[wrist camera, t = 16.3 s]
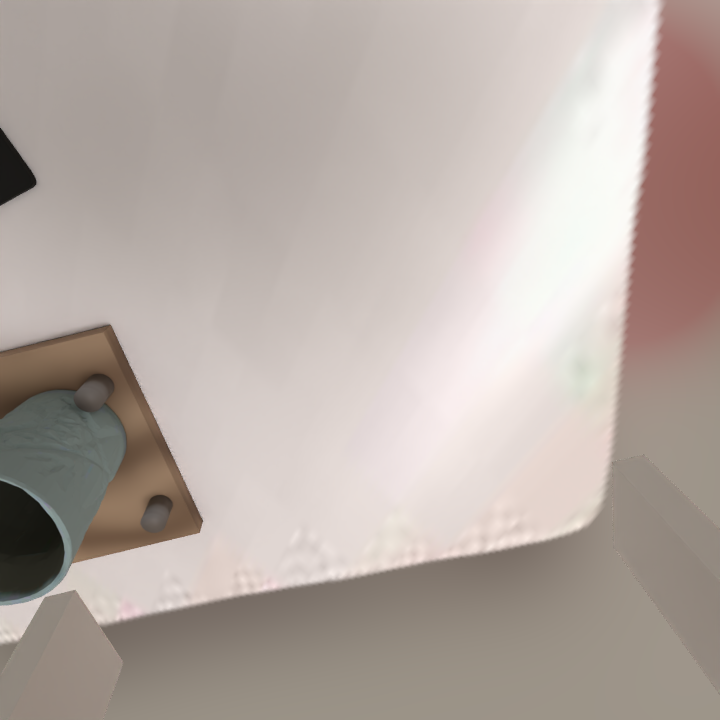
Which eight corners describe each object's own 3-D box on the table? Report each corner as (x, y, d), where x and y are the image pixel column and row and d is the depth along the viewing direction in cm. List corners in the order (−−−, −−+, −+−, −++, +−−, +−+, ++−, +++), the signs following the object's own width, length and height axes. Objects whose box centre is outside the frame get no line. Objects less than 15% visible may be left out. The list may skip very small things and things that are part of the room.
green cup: (98, 504, 44) (26, 628, 33) (-22, 446, 40) (-146, 562, 30) (158, 421, 41) (102, 526, 30) (35, 352, 38) (-78, 442, 27)
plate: (-90, 374, 39) (-130, 399, 36) (110, 325, 39) (90, 344, 35) (37, 560, 47) (14, 595, 44) (202, 521, 47) (193, 552, 44)
